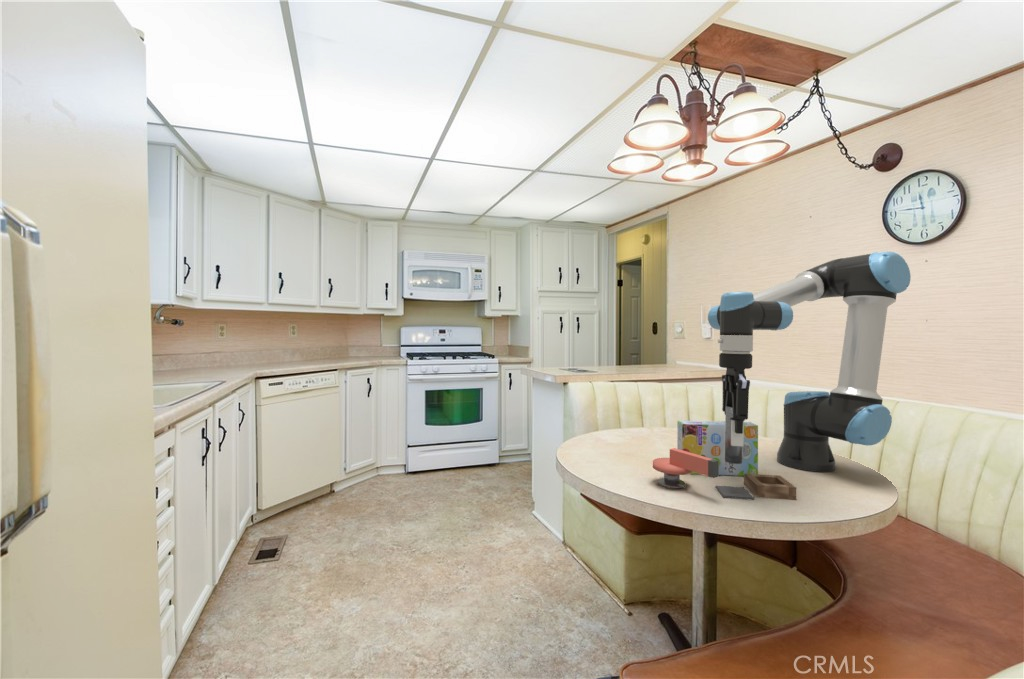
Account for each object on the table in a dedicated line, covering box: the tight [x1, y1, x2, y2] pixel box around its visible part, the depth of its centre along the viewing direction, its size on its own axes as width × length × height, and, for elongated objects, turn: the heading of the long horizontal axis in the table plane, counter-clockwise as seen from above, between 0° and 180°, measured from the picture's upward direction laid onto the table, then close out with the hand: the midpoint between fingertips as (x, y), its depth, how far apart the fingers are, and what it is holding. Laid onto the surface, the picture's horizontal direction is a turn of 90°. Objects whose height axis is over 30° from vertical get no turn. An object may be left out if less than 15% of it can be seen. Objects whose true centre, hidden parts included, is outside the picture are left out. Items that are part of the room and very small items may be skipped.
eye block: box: [743, 473, 797, 501], centre depth 110 cm, size 9×9×3 cm
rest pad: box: [714, 485, 755, 501], centre depth 109 cm, size 7×7×1 cm
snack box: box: [676, 420, 759, 477], centre depth 125 cm, size 21×6×15 cm, turn 84°
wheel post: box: [657, 473, 686, 490], centre depth 115 cm, size 7×7×4 cm
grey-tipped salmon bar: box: [652, 447, 720, 479], centre depth 112 cm, size 18×10×6 cm, turn 31°
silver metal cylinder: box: [725, 406, 743, 464], centre depth 108 cm, size 4×4×14 cm
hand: (733, 443), depth 109 cm, fingers closed on silver metal cylinder, 4 cm apart
